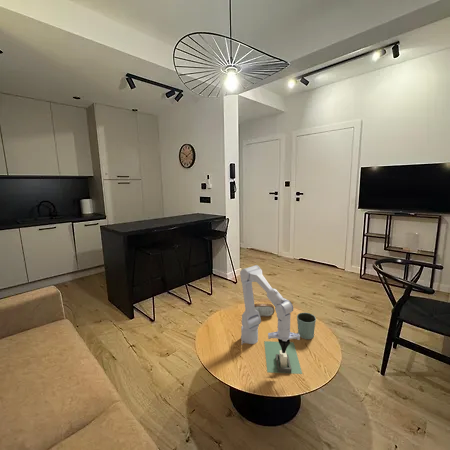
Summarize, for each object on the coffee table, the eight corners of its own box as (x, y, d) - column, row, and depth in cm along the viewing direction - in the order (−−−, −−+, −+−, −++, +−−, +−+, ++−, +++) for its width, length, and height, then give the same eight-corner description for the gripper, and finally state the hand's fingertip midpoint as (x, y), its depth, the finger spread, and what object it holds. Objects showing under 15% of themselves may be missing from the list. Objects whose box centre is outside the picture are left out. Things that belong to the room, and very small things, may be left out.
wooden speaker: (274, 314, 164) (274, 302, 162) (274, 317, 161) (274, 305, 159) (251, 314, 164) (251, 303, 163) (251, 317, 161) (251, 305, 160)
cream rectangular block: (280, 367, 117) (280, 356, 116) (279, 359, 122) (279, 349, 121) (287, 368, 117) (287, 357, 116) (285, 359, 122) (285, 349, 121)
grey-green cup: (318, 335, 141) (319, 316, 138) (309, 344, 134) (310, 324, 131) (301, 328, 148) (302, 310, 145) (293, 336, 141) (293, 317, 139)
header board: (267, 374, 115) (267, 368, 114) (264, 342, 136) (264, 338, 136) (302, 375, 113) (302, 370, 113) (293, 343, 135) (293, 338, 134)
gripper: (268, 330, 111) (268, 357, 114) (301, 331, 110) (300, 358, 113) (267, 321, 118) (267, 346, 121) (298, 322, 117) (297, 347, 120)
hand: (283, 351), depth 117 cm, fingers closed
